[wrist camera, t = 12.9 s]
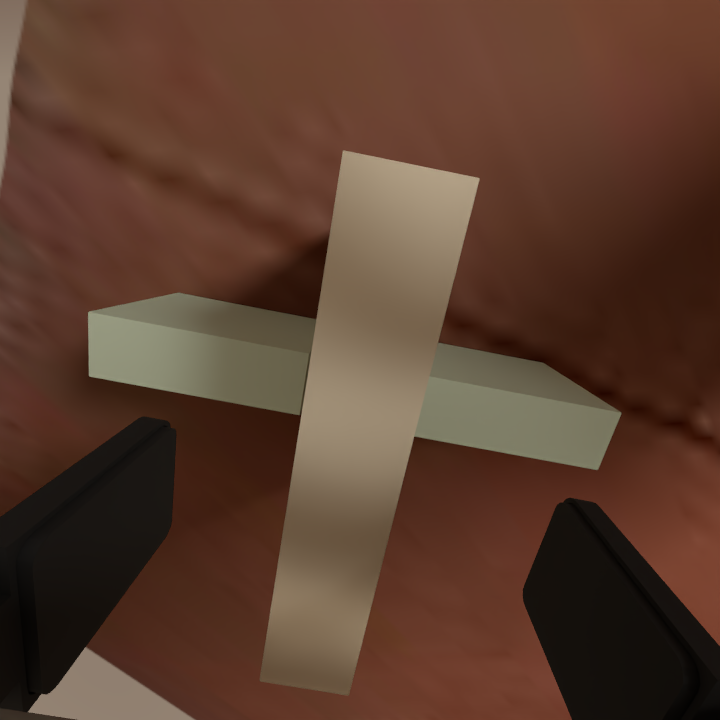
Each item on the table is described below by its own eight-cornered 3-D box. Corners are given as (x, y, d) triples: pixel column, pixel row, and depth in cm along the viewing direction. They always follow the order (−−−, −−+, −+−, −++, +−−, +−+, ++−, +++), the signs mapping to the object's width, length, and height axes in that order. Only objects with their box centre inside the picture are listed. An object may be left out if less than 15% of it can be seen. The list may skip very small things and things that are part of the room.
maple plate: (360, 215, 22) (343, 150, 8) (409, 225, 23) (479, 178, 8) (318, 450, 27) (259, 680, 12) (359, 458, 27) (348, 695, 13)
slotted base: (543, 362, 25) (621, 412, 17) (528, 404, 26) (597, 470, 18) (178, 292, 24) (88, 311, 16) (175, 337, 25) (89, 376, 17)
